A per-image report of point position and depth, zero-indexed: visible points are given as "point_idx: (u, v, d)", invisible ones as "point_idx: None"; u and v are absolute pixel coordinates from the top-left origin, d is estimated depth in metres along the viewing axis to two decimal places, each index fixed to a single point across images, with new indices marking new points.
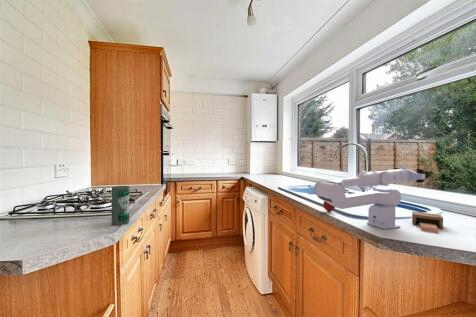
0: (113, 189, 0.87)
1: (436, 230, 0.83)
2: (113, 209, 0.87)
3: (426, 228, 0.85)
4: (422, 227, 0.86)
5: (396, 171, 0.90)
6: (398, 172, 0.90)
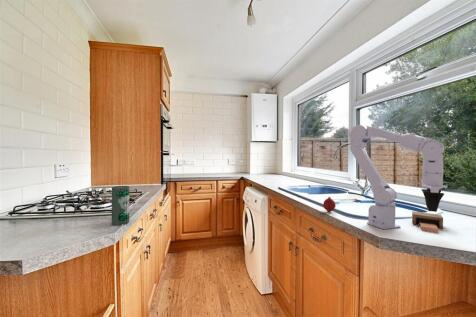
0: (113, 189, 0.87)
1: (436, 230, 0.83)
2: (113, 209, 0.87)
3: (426, 228, 0.85)
4: (422, 227, 0.86)
5: (440, 169, 0.77)
6: (438, 170, 0.77)
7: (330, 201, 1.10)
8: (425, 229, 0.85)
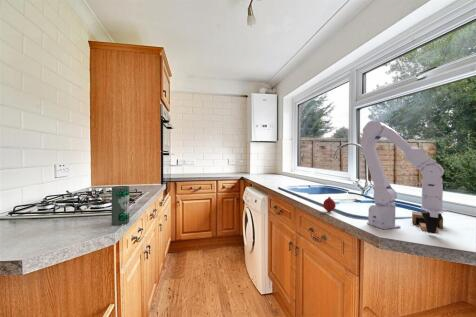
0: (113, 189, 0.87)
1: (436, 230, 0.83)
2: (113, 209, 0.87)
3: None
4: (422, 227, 0.86)
5: (439, 193, 0.77)
6: (438, 194, 0.77)
7: (330, 201, 1.10)
8: (425, 229, 0.85)
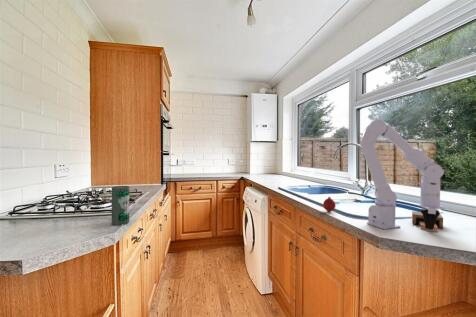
0: (113, 189, 0.87)
1: (436, 229, 0.85)
2: (113, 209, 0.87)
3: None
4: (422, 226, 0.87)
5: (439, 191, 0.82)
6: (438, 192, 0.82)
7: (330, 201, 1.10)
8: (425, 228, 0.86)
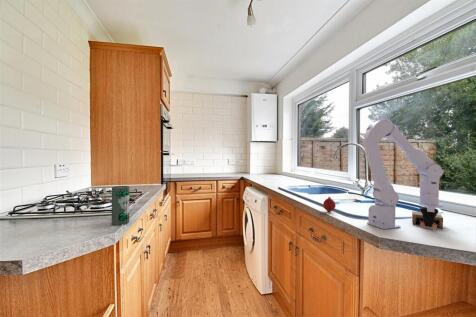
0: (113, 189, 0.87)
1: (435, 226, 0.87)
2: (113, 209, 0.87)
3: None
4: (421, 224, 0.90)
5: (438, 189, 0.86)
6: (438, 191, 0.85)
7: (330, 201, 1.10)
8: (424, 225, 0.89)
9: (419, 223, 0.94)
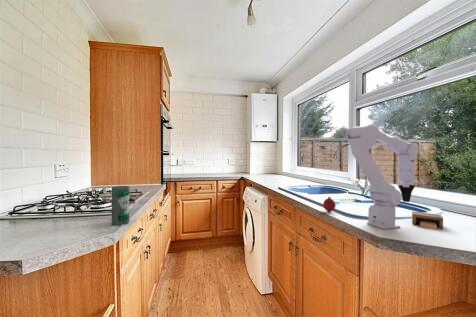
0: (113, 189, 0.87)
1: (435, 227, 0.87)
2: (113, 209, 0.87)
3: (425, 225, 0.89)
4: (421, 224, 0.90)
5: None
6: (414, 168, 0.93)
7: (330, 201, 1.10)
8: (424, 226, 0.89)
9: (419, 223, 0.94)
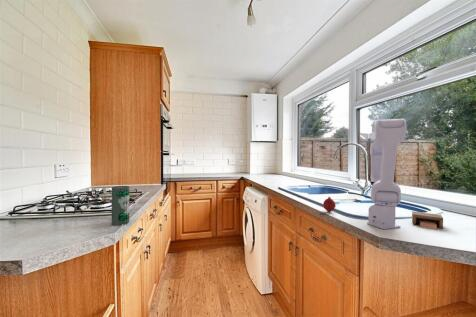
0: (113, 189, 0.87)
1: (435, 227, 0.87)
2: (113, 209, 0.87)
3: (425, 225, 0.89)
4: (421, 224, 0.90)
5: None
6: None
7: (330, 201, 1.10)
8: (424, 226, 0.89)
9: (419, 223, 0.94)
